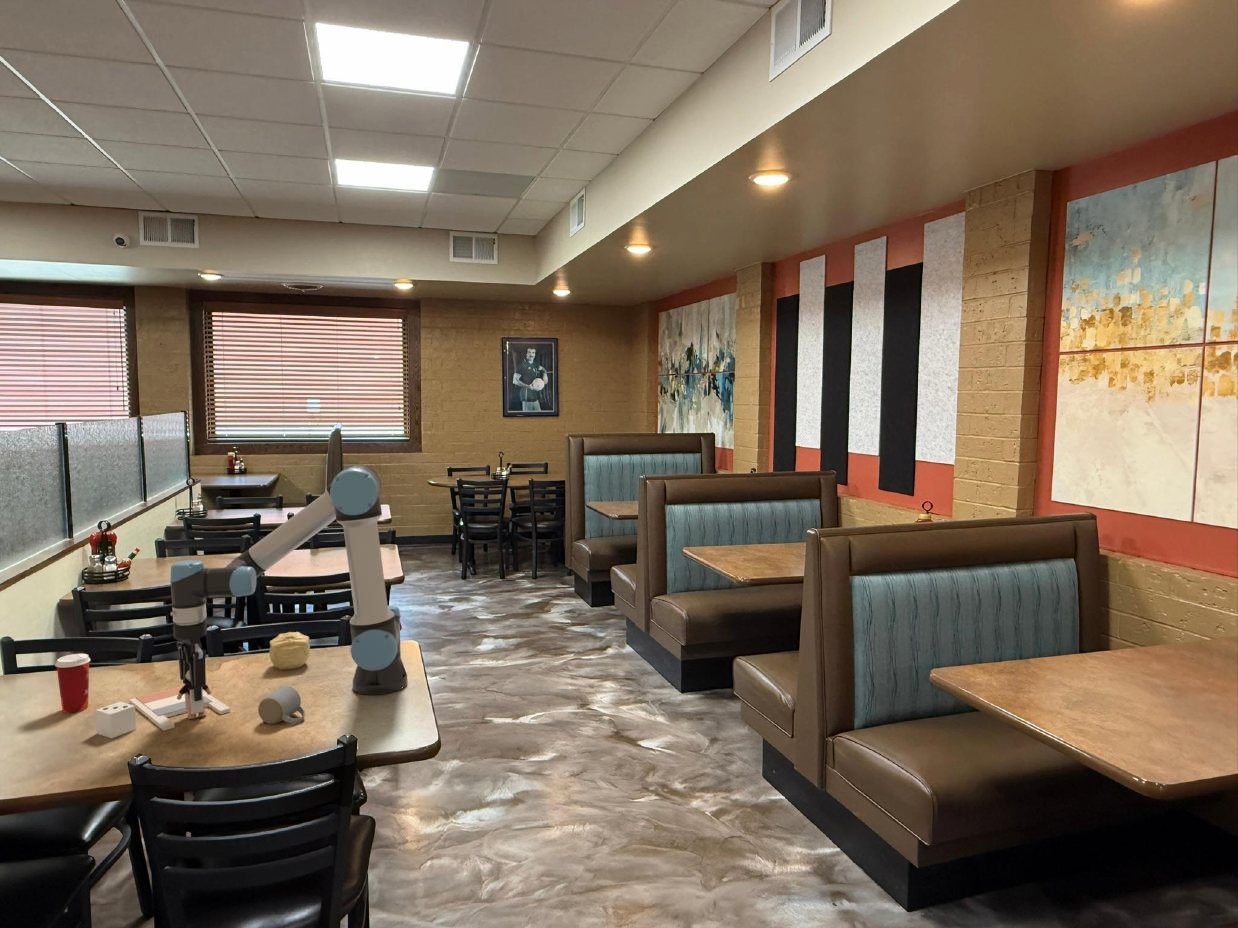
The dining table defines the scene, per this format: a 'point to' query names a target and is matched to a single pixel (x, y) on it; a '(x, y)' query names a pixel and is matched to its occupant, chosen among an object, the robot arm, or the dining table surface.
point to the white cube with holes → (115, 719)
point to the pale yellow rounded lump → (289, 650)
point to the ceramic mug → (281, 706)
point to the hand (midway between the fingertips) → (194, 709)
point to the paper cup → (73, 682)
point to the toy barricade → (170, 706)
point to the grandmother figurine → (185, 690)
